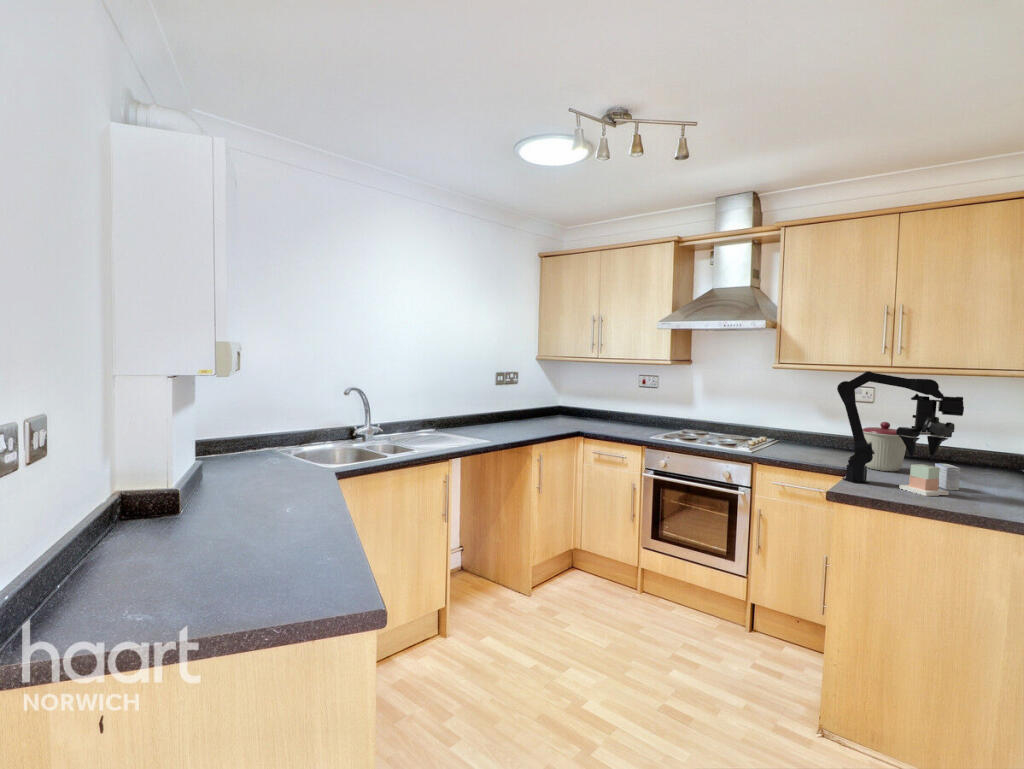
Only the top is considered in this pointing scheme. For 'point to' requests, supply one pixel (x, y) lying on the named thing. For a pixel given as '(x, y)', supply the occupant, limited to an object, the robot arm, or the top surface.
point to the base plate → (924, 491)
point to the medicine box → (948, 476)
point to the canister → (885, 448)
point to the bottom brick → (924, 483)
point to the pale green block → (925, 471)
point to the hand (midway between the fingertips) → (921, 455)
